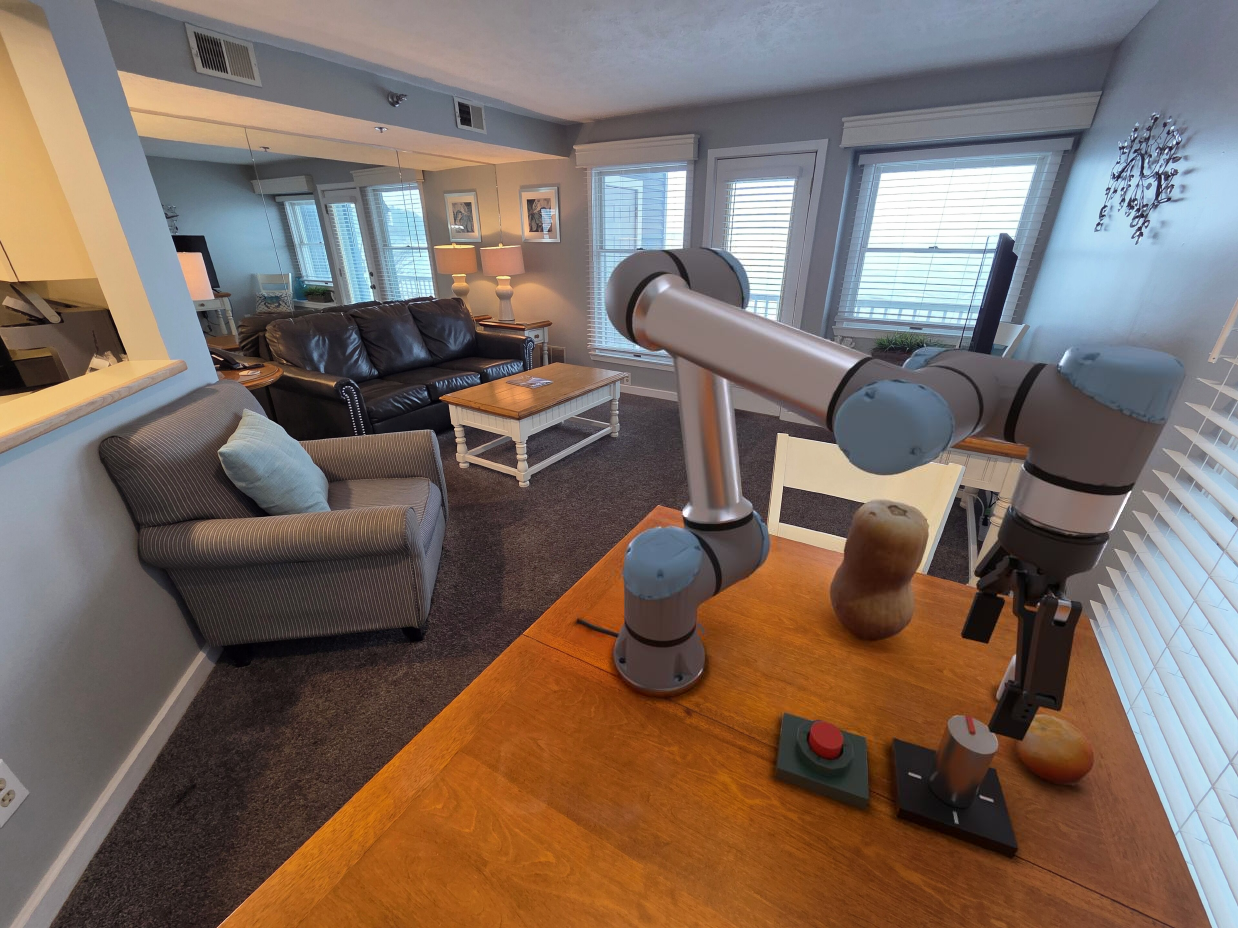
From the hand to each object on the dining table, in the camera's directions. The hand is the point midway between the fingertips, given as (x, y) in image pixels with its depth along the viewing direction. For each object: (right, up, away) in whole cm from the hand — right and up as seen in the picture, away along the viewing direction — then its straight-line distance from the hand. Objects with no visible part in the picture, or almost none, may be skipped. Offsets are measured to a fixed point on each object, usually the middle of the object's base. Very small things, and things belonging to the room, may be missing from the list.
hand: (987, 681), depth 55 cm
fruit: (+17, -17, +12) cm, 26 cm away
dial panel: (+1, -18, +8) cm, 20 cm away
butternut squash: (+3, -6, +36) cm, 36 cm away
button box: (-14, -17, +13) cm, 25 cm away
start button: (-14, -13, +11) cm, 22 cm away
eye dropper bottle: (+20, -12, +22) cm, 32 cm away
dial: (+1, -17, +8) cm, 18 cm away
